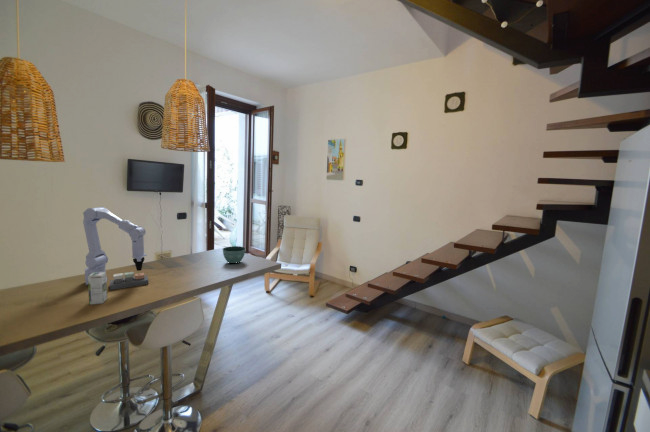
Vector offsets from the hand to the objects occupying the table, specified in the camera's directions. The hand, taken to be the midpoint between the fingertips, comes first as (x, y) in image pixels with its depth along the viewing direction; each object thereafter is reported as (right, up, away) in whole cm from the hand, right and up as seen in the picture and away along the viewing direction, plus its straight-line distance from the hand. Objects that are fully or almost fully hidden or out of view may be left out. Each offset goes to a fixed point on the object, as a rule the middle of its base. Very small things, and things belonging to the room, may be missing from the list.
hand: (139, 270), depth 166 cm
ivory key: (-8, -6, -5) cm, 11 cm away
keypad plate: (-4, -8, -2) cm, 9 cm away
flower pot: (+41, -3, +46) cm, 62 cm away
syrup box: (-3, -11, -26) cm, 28 cm away
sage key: (-4, -6, -2) cm, 7 cm away
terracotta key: (0, -7, +1) cm, 7 cm away
